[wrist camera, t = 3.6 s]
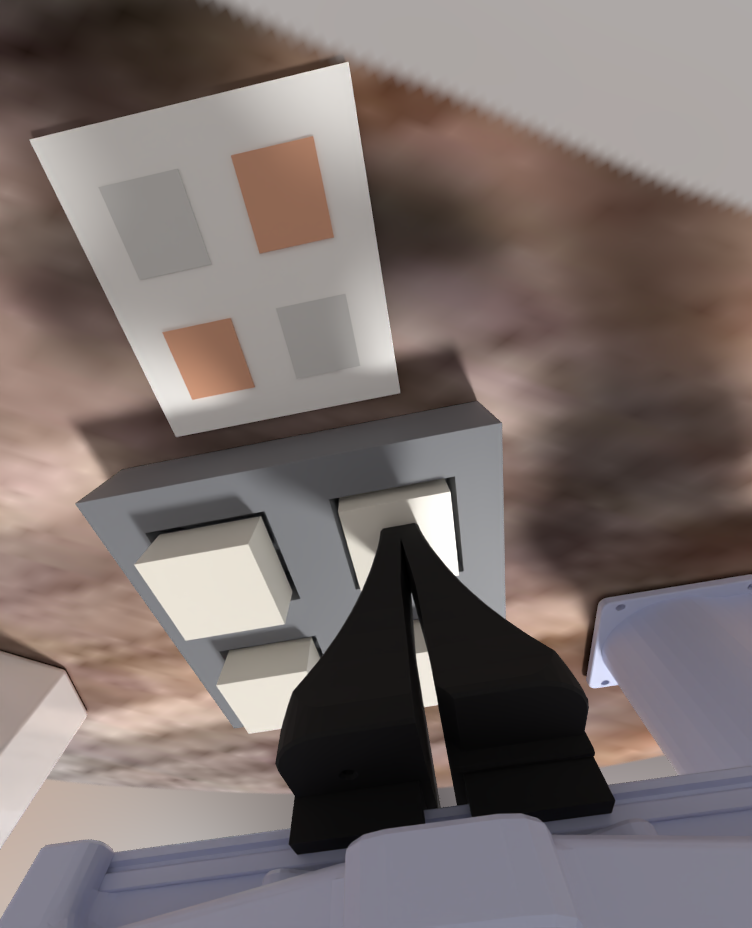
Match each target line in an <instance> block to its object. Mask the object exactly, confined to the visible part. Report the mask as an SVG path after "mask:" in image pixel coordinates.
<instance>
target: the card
mask: <svg viewBox="0 0 752 928" xmlns="http://www.w3.org/2000/svg"><path fill="white" fill-rule="evenodd" d="M30 142H31V144H32V146H33V148H34V150H35V152H36V154H37V156H38V158H39V160H40V162H41V164H42V167H43V169H44V171H45V173H46V175H47V177H48V179H49V181H50V183H51V185H52V187H53V189H54V191H55V193H56V195H57V197H58V199H59V201H60V203H61V205H62V207H63V209H64V211H65V213H66V215H67V217H68V219H69V221H70V223H71V225H72V227H73V229H74V231H75V233H76V235H77V237H78V239H79V242H80V244H81V246H82V248H83V250H84V252H85V254H86V256H87V258H88V260H89V262H90V264H91V266H92V268H93V270H94V272H95V274H96V276H97V278H98V280H99V282H100V284H101V286H102V288H103V290H104V292H105V294H106V296H107V298H108V300H109V302H110V304H111V306H112V308H113V310H114V312H115V314H116V317H117V319H118V321H119V323H120V325H121V327H122V329H123V331H124V333H125V335H126V337H127V339H128V341H129V343H130V345H131V347H132V349H133V351H134V353H135V355H136V357H137V359H138V361H139V363H140V365H141V367H142V369H143V371H144V373H145V375H146V377H147V379H148V381H149V383H150V385H151V387H152V390H153V392H154V394H155V396H156V398H157V400H158V402H159V404H160V406H161V408H162V410H163V412H164V414H165V416H166V418H167V420H168V422H169V424H170V426H171V428H172V430H173V432H174V434H175V436H176V437H179V436H184V435H190V434H195V433H200V432H205V431H210V430H215V429H220V428H225V427H230V426H235V425H240V424H246V423H251V422H256V421H261V420H266V419H271V418H276V417H281V416H286V415H291V414H297V413H302V412H307V411H312V410H317V409H322V408H327V407H332V406H337V405H342V404H347V403H353V402H358V401H363V400H368V399H373V398H378V397H383V396H388V395H393V394H398V393H400V387H399V380H398V374H397V368H396V361H395V355H394V349H393V342H392V336H391V329H390V323H389V317H388V310H387V304H386V298H385V291H384V285H383V279H382V272H381V266H380V259H379V253H378V247H377V240H376V234H375V228H374V221H373V215H372V208H371V202H370V196H369V189H368V183H367V177H366V170H365V164H364V158H363V151H362V145H361V138H360V132H359V126H358V119H357V113H356V107H355V100H354V94H353V88H352V81H351V75H350V68H349V62H345V63H341V64H337V65H333V66H329V67H325V68H321V69H317V70H312V71H308V72H304V73H300V74H296V75H292V76H288V77H284V78H280V79H276V80H272V81H267V82H263V83H259V84H255V85H251V86H247V87H243V88H239V89H235V90H231V91H226V92H222V93H218V94H214V95H210V96H206V97H202V98H198V99H194V100H190V101H186V102H181V103H177V104H173V105H169V106H165V107H161V108H157V109H153V110H149V111H145V112H141V113H136V114H132V115H128V116H124V117H120V118H116V119H112V120H108V121H104V122H100V123H95V124H91V125H87V126H83V127H79V128H75V129H71V130H67V131H63V132H59V133H55V134H50V135H46V136H42V137H38V138H34V139H30Z"/></svg>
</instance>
